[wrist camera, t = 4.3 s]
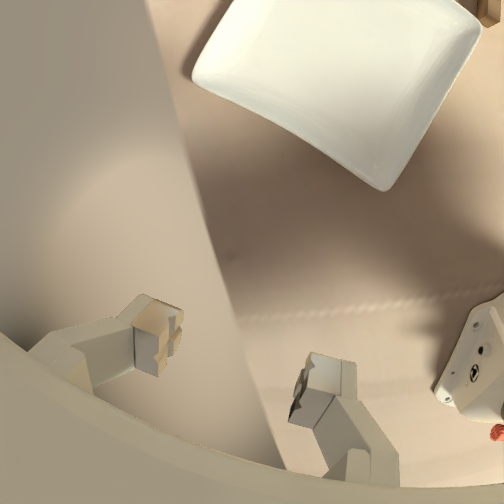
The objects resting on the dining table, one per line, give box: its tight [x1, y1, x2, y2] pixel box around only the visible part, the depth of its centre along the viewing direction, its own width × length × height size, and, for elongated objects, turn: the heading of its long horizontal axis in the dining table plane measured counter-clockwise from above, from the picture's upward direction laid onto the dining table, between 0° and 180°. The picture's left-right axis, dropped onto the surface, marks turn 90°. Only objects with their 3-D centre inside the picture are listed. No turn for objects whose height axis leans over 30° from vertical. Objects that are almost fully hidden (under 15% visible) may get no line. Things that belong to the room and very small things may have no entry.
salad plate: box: [191, 0, 482, 192], centre depth 23 cm, size 21×21×3 cm
